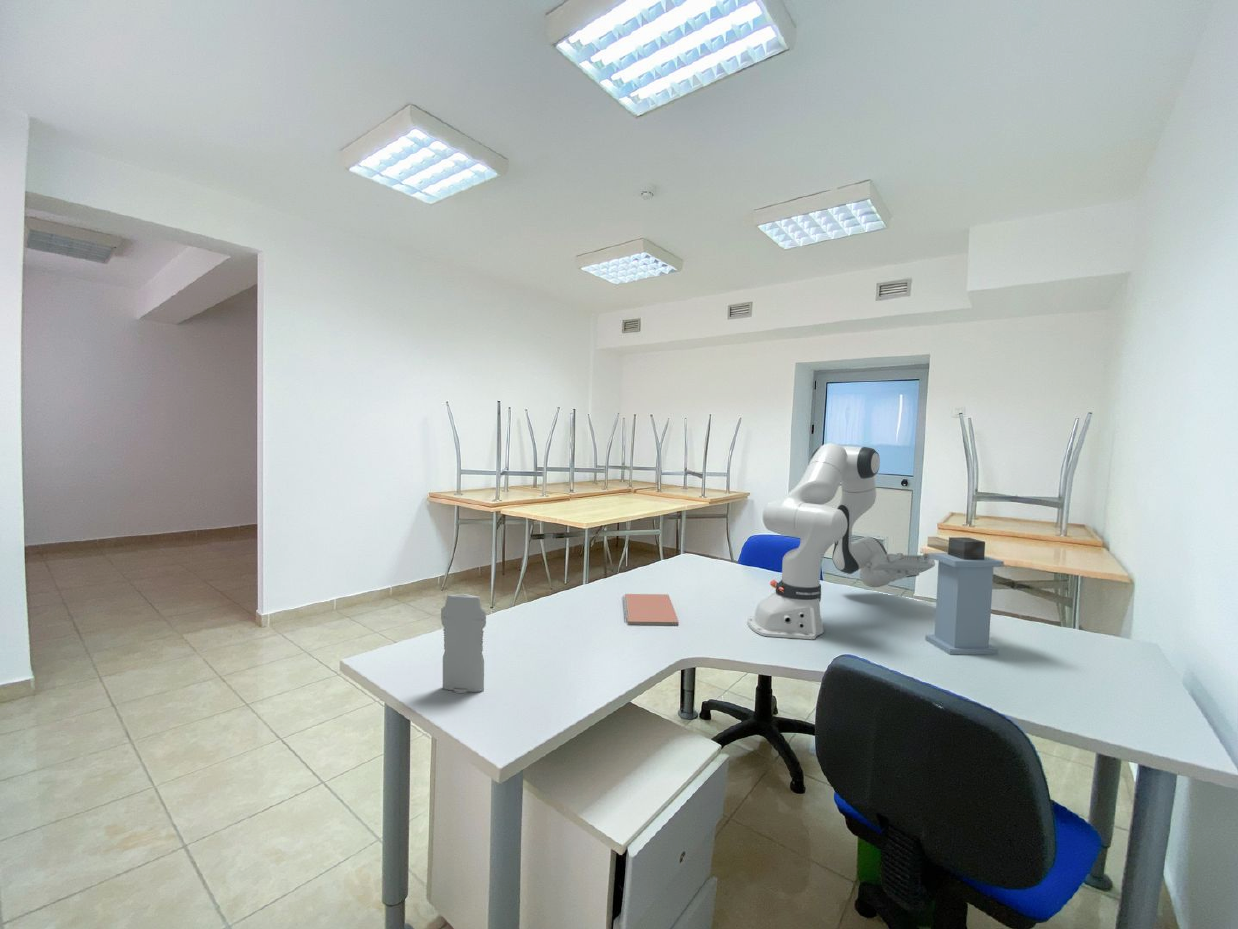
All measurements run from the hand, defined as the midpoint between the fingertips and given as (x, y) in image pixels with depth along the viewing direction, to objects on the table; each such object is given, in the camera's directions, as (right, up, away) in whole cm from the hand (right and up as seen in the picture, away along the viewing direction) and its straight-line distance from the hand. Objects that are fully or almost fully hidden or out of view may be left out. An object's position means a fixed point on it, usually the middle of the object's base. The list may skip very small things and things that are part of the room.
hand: (915, 555), depth 164 cm
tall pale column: (-132, -22, -50) cm, 143 cm away
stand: (+1, -22, -20) cm, 30 cm away
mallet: (+1, +4, -16) cm, 17 cm away
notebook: (-87, -20, +5) cm, 89 cm away
